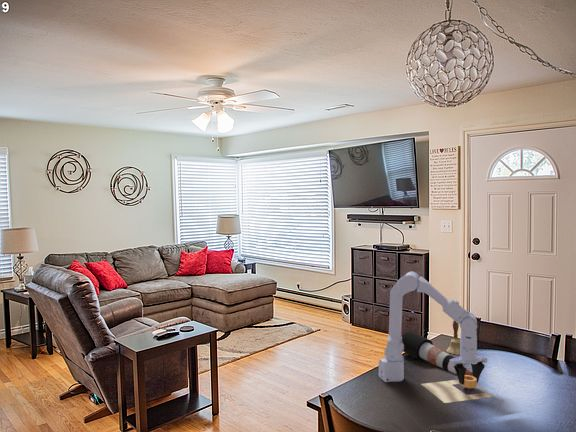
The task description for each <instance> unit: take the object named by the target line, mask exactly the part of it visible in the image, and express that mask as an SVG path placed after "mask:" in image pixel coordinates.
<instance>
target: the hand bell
mask: <svg viewBox="0 0 576 432" xmlns="http://www.w3.org/2000/svg"><path fill="white" fill-rule="evenodd" d="M452 329H453V339H451V340H450V343H449V347H448V348H446V350H445V352H446V351H447V352H446V353H447V354H449V353H451V354H450V355H453V354H455V355H454V356H460V339H459V337H458V331H459V329H460V324H459V323H457V322H455V321H454V320H453V321H452Z"/></svg>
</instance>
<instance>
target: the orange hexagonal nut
mask: <svg viewBox="0 0 576 432" xmlns="http://www.w3.org/2000/svg"><path fill="white" fill-rule="evenodd" d="M460 385H461V386H462V387H463V388H466V387H467V388H471V389H476V388H477V387H476V386H477V385H478V383H477V378H475V377H474V376H470V375H465V377H464V385H462V384H460Z"/></svg>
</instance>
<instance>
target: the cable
mask: <svg viewBox="0 0 576 432" xmlns="http://www.w3.org/2000/svg"><path fill="white" fill-rule="evenodd" d="M402 342H403V344H404V350H403V353H405V354H407V355H409V356H410V357H412V358H414V359H415V360H417V361H419V362H425V360H426V362H429V364H432V365H434V366H436V367H437V368H440V369H443V370H446V371H447V372H450V373H452V374H455V375H457V373H456V371H455V368H454V367H453V366H451V365H450V359H454V358H456V357H454V356H452V354H449V353H448V352H446V350H445V351H444V350H442V349H441V348H438V347H437V346H436V345H434V344H433V341H432V340H430V339H429V338H427V337H424V336H423V335H421V334H418V333H416V332H415V331H412V330H409V331H407V332H406V333H404V334H403V336H402ZM463 366H464V367H465V368H466V364H463ZM465 375H470V376H472V370H468V369H467V368H466V371H465Z"/></svg>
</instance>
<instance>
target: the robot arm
mask: <svg viewBox="0 0 576 432" xmlns="http://www.w3.org/2000/svg"><path fill="white" fill-rule="evenodd" d="M415 290H416V292H417V293H425V294H426V295H428V296H429V298H431V299H433V300H434V301H435V302H436V303H437V304H439V305H440V306H441V307H442V312H443V313H445V314H446V315H448V317H450V318H451V319H452V320H453V321H455V322H457V323H458V324H459V329H460V335H459V336H460V337H459V340H460V355H459V356H458V357H455V358H454V359H450V365H451V366H453V367H454V368H455V371H456V373H457V374H456V376H457V380H459V383H460V384H459V385H461V384H462V385H464V377H465V371H466V369H467V368H466V366H465V367H464V366H463V364H465V365H470V366H471V372H472V376H474V377H475V378H477V384H478V383H479V379H480V376H481V374H482V373H483V370H484V369H485V366H486V365H485V363H488V357H486V356H485V355H478V354H477V353H478V335H477V333H478V332H477V328H478V320H477V318H476V316H475V315H474V313H472V312H470V311H469V310H466V309H465V308H463V306H461V305H460V302H459V301H458V300H454V299H448V298H447V297H445V296H444V295H443V294H442V293H441V292H440V291H439V290H438V289H437V288H436V287H435V286H433V285H432V284H431V283H430V282H429V281H428V280H426V278H424V276H420V274H419V273H418V272H415V271H412V270H411V271H408V272H406V273H405V274H403V275H402V276H401V277H400V278H399V279H398V280H397V282H395V284H394V285H393V287H391V289H390V290H389V291H390V292H389V316H388V319H389V320H388V336H387V341H386V347H385V348H384V352H383V353H384V358H381V359H379V360H378V377H379V378H380V379H381V380H382V381H383V382H384V383H389V382H402V381H404V379H405V377H404V376H405V374H404V373H405V372H404V371H405V370H404V369H405V366H404V365H405V363H404V361H405V360H404V356H403V354H402V353H404V351H403V350H404V344H403V342H402V337H403V336H402V326H403V325H402V322H403V320H402V318H403V297H404V296H405V295H406V294H408V293H411V292H414V291H415ZM462 385H461V386H462Z"/></svg>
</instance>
